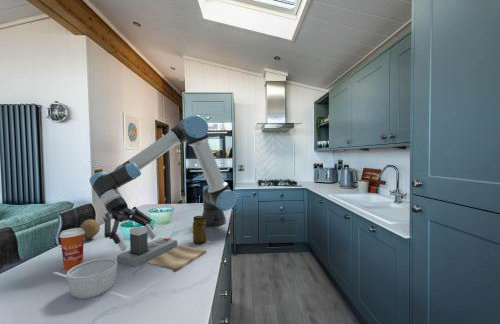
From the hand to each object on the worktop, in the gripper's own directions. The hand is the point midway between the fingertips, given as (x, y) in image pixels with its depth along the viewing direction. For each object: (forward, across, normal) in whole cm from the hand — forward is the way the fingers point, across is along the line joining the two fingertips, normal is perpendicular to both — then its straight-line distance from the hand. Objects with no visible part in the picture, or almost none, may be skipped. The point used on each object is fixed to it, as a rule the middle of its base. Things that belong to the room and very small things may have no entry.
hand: (140, 243), depth 96 cm
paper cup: (-8, +15, -18) cm, 24 cm away
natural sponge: (-27, -7, -37) cm, 46 cm away
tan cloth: (+14, -7, +4) cm, 16 cm away
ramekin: (+8, +21, -2) cm, 22 cm away
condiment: (+12, -25, +2) cm, 28 cm away
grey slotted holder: (+4, -5, -6) cm, 9 cm away
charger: (+4, 0, -5) cm, 6 cm away
